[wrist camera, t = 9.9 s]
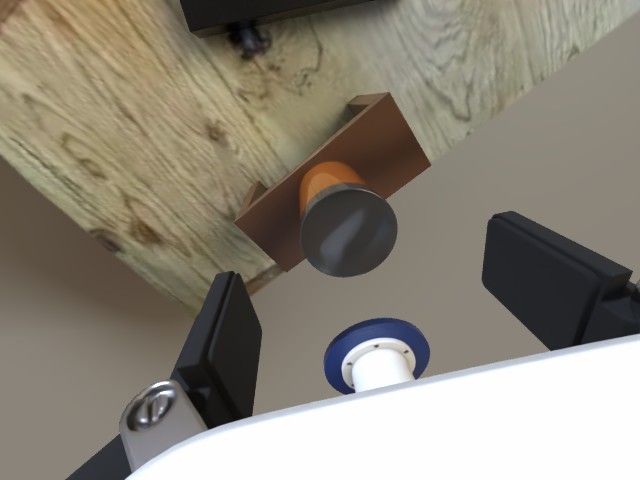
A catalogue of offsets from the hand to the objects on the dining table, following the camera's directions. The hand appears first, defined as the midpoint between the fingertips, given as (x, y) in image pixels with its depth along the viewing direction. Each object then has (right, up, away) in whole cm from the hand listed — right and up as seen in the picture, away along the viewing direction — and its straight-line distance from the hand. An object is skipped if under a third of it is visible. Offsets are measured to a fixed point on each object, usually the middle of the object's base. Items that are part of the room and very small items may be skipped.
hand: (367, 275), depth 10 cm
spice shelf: (-2, +9, +18) cm, 21 cm away
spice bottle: (-1, +5, +10) cm, 11 cm away
